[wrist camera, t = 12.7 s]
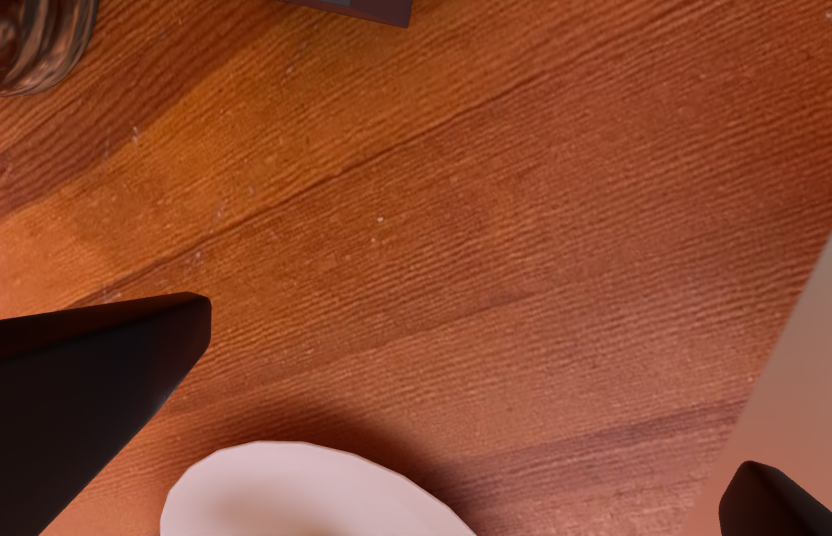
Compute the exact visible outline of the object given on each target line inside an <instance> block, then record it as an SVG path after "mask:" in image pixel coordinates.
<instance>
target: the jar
mask: <svg viewBox="0 0 832 536" xmlns="http://www.w3.org/2000/svg"><path fill="white" fill-rule="evenodd" d="M97 4H98V0H0V97H16V96H26V95H31V94H36V93H39V92H42V91H45V90H47V89H49V88H51V87H53V86H54V85H56V84H57V83H58V82H60V81H61V80H62V79H63V78H64V77H66V76H67V75H68V74H69V72H70V71H71V70H72V69H73V68H74V66H75V65H76V64H77V62H78V61H79V59H80V57H81V56H82V54H83V52H84V50H85V48H86V46H87V43H88V41H89V38H90V35H91V32H92V29H93V25H94V21H95V16H96V11H97Z"/></svg>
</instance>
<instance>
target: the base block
mask: <svg viewBox="0 0 832 536" xmlns="http://www.w3.org/2000/svg"><path fill="white" fill-rule="evenodd" d="M278 1H283V2H287V3H292V4H296V5H301V6H306V7H310V8H315V9H319V10H324V11H328V12H333V13H338V14H342V15H347V16H351V17H356V18H360V19H365V20H369V21H374V22H379V23H383V24H388V25H392V26H397V27H401V28H407V27H408V22H409V16H410V11H411V5H412V0H278Z"/></svg>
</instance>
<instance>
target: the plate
mask: <svg viewBox="0 0 832 536" xmlns="http://www.w3.org/2000/svg"><path fill="white" fill-rule="evenodd" d="M160 536H477V535H476V534H475V533H474V532H473V531H472V530H471V529H470V528H469V527H468V526H467V525H466V524H465V523H464V522H463V521H462V520H461V519H460V518H459V517H458V516H457V515H456V514H455V513H454V512H453V511H452V510H451V509H450V508H449V507H448V506H447V505H446V504H444V503H443V502H441V501H440V500H438V499H437V498H436V497H434V496H433V495H431V494H430V493H428V492H427V491H425V490H424V489H422V488H421V487H420V486H418V485H417V484H415V483H414V482H412V481H411V480H409V479H408V478H407V477H405V476H404V475H401V474H399V473H397V472H395V471H392V470H390V469H388V468H386V467H383V466H381V465H379V464H377V463H374V462H372V461H370V460H368V459H365V458H363V457H361V456H359V455H356V454H354V453H350V452H346V451H342V450H337V449H333V448H329V447H325V446H321V445H316V444H312V443H308V442H301V441H264V440H257V441H253V442H249V443H245V444H240V445H236V446H232V447H227V448H223V449H219V450H217V451H216V452H214V453H212V454H210V455H209V456H207V457H205V458H204V459H202V460H200V461H198V462H197V463H195V464H193V465H192V466H190V467H189V468H188V469H187V470H186V471H185V472H184V474H183V475H182V476H181V477H180V478H179V480H178V481H177V482H176V483H175V484H174V486H173V487H172V488H171V489H170V490H169V493H168V496H167V499H166V502H165V505H164V508H163V511H162V514H161V517H160Z"/></svg>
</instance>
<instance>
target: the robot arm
mask: <svg viewBox="0 0 832 536" xmlns="http://www.w3.org/2000/svg"><path fill="white" fill-rule="evenodd" d="M211 311H212V306H211V301H210V300H209V299H208V298H207V297H205V296H202V295H199V294H195V293H192V292H180V293H173V294H167V295H160V296H154V297H147V298H140V299H134V300H127V301H121V302H114V303H108V304H101V305H95V306H88V307H81V308H75V309H68V310H62V311H55V312H49V313H42V314H35V315H29V316H22V317H16V318H9V319H3V320H0V536H38V535H39V534H40V533H41V532H42V531H43V530H44V529H45V528H46V527H47V526H48V525H49V524H50V523H51V522H52V521H53V520H54V519H55V518H56V517H57V516H58V515H59V514H60V513H61V512H62V511H63V510H64V509H65V508H66V507H67V505H68V504H69V503H70V502H71V501H72V500H73V499H74V498H75V497H76V496H77V495H78V494H79V493H80V492H81V491H82V490H83V489H84V488H85V487H86V486H87V485H88V484H89V483H90V482H91V481H92V480H93V479H94V478H95V477H96V476H97V475H98V473H99V472H100V471H101V470H102V469H103V468H104V467H105V466H106V465H107V464H108V463H109V462H110V461H111V460H112V459H113V458H114V457H115V456H116V455H117V454H118V453H119V452H120V451H121V450H122V449H123V448H124V447H125V446H126V445H127V444H128V443H129V441H130V440H131V439H132V438H133V437H134V436H135V435H136V434H137V433H138V432H139V431H140V430H141V429H142V428H143V427H144V426H145V425H146V424H147V423H148V422H149V421H150V419H151V418H152V417H153V416H154V415H155V414H156V413H157V412H158V410H159V409H160V408H161V407H162V406H163V404H164V403H165V402H166V401H167V399H168V398H169V397H170V396H171V394H172V393H173V392H174V390H175V389H176V388H177V387H178V385H179V384H180V383H181V382H182V380H183V379H184V378H185V377H186V375H187V374H188V373H189V371H190V370H191V369H192V368H193V366H194V365H195V364H196V363H197V361H198V360H199V359H200V358H201V356H202V355H203V354H204V353H205V351H206V350H207V348H208V346H209V343H210V339H211ZM719 520H720V527H721V534H722V536H832V512H831V511H830V510H828V509H827V508H826V507H825V506H823V505H822V504H821V503H820V502H819V501H817V500H816V499H815V498H814V497H812V496H811V495H810V494H809V493H807V492H806V491H805V490H804V489H802V488H801V487H800V486H799V485H797V484H796V483H795V482H794V481H793V480H791V479H790V478H789V477H788V476H786V475H785V474H784V473H783V472H781V471H780V470H779V469H776V468H774V467H772V466H768V465H765V464H762V463H758V462H754V461H745V462H743V463H742V464H741V465H740V467H739V468H738V470H737V472H736V473H735V475H734V477H733V479H732V480H731V482H730V484H729V486H728V487H727V489H726V491H725V493H724V495H723V496H722V498H721V501H720V504H719Z"/></svg>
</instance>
